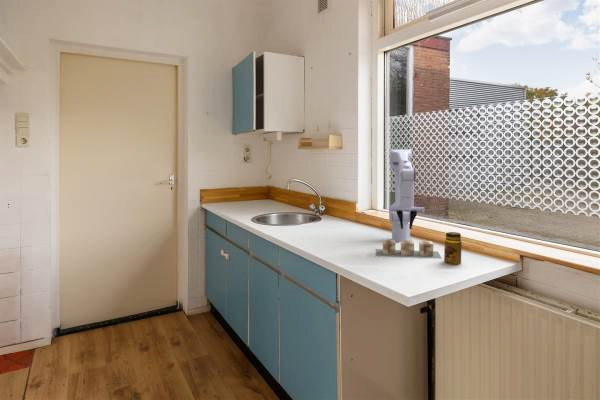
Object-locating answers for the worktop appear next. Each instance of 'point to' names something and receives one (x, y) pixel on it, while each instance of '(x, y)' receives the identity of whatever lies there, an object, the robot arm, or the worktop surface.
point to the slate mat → (416, 255)
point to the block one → (389, 247)
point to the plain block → (407, 247)
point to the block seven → (425, 248)
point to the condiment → (452, 248)
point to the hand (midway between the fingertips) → (406, 228)
